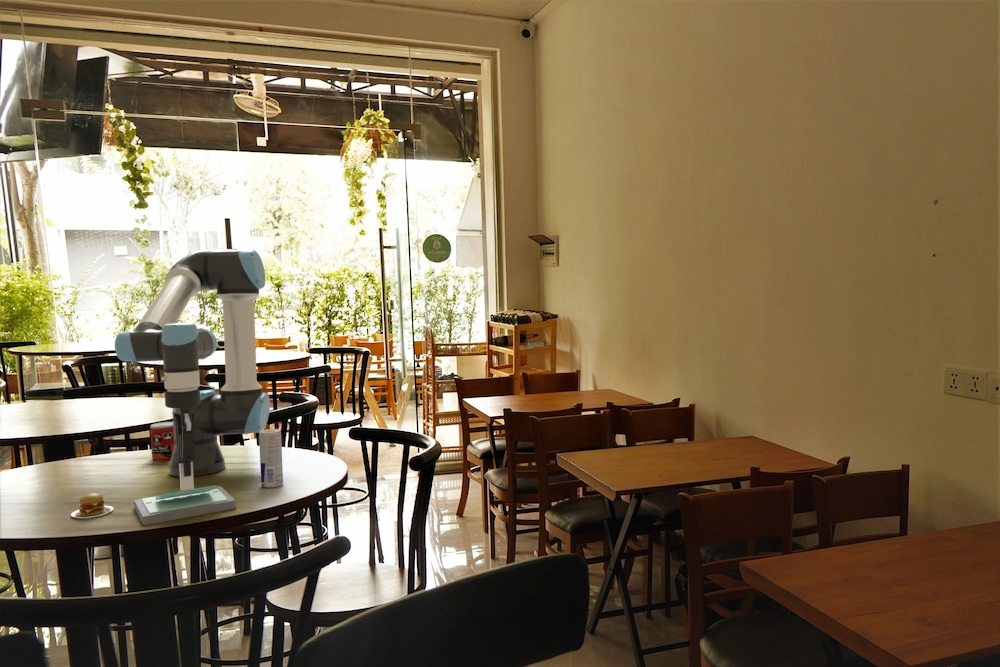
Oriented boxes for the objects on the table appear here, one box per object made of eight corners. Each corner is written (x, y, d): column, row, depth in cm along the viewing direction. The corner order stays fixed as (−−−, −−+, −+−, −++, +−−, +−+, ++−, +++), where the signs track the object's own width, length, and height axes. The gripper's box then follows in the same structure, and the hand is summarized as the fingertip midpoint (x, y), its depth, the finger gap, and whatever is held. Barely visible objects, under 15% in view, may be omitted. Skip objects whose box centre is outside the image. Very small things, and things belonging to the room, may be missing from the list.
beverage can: (286, 482, 192) (284, 428, 191) (278, 488, 187) (275, 432, 186) (266, 482, 193) (264, 428, 192) (257, 488, 187) (255, 432, 186)
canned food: (146, 461, 222) (144, 426, 222) (162, 455, 230) (161, 421, 229) (168, 461, 221) (167, 426, 220) (184, 455, 229) (182, 421, 228)
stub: (155, 496, 170) (160, 494, 161) (208, 488, 176) (216, 485, 168) (155, 500, 169) (161, 497, 161) (208, 491, 176) (216, 488, 168)
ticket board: (134, 508, 172) (133, 498, 172) (220, 493, 183) (220, 484, 183) (143, 525, 159) (142, 514, 159) (235, 508, 170) (235, 498, 170)
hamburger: (117, 505, 177) (116, 483, 177) (124, 517, 168) (123, 494, 167) (61, 514, 171) (60, 492, 170) (65, 527, 161) (63, 503, 160)
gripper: (160, 387, 168) (165, 485, 170) (169, 394, 157) (174, 498, 159) (194, 385, 172) (198, 480, 174) (205, 390, 161) (209, 492, 163)
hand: (187, 488), depth 166 cm, fingers closed
